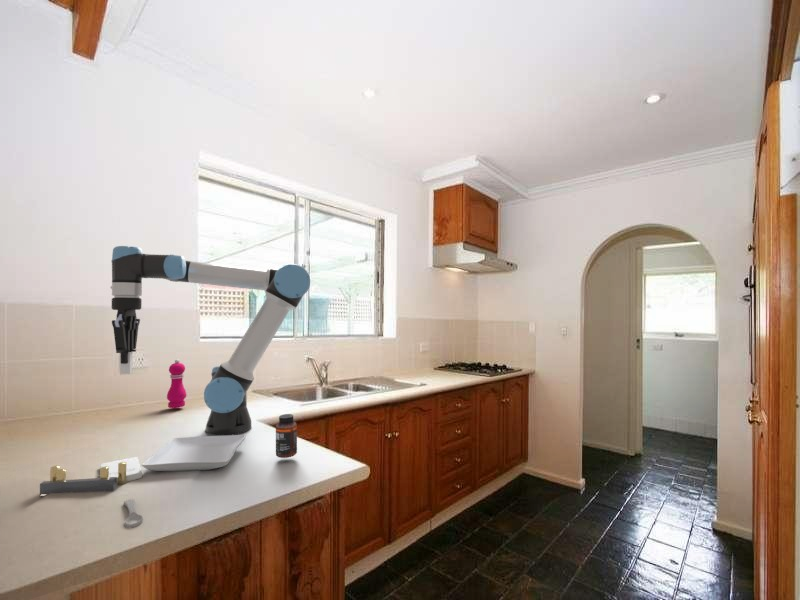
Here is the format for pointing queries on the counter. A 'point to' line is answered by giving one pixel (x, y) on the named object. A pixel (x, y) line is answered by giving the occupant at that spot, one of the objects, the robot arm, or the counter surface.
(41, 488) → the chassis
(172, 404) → the pepper mill
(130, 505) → the spoon
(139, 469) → the external hard drive
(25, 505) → the counter surface
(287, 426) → the supplement bottle
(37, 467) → the counter surface
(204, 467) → the salad plate
